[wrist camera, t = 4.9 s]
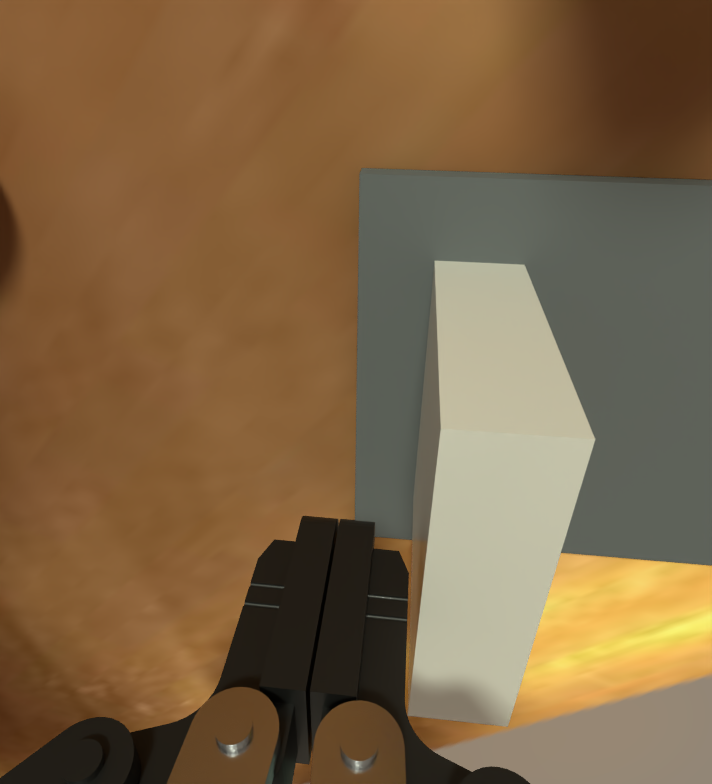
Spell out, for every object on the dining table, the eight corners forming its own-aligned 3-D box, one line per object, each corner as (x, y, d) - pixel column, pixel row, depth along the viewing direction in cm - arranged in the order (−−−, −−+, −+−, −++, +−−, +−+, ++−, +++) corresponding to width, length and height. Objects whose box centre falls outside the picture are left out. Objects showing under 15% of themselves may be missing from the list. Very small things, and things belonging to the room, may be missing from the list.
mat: (356, 522, 20) (354, 534, 20) (362, 168, 14) (359, 173, 13) (769, 556, 19) (778, 571, 19) (991, 189, 13) (1014, 196, 12)
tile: (413, 497, 19) (407, 715, 13) (434, 260, 14) (440, 428, 8) (484, 502, 18) (512, 727, 13) (528, 264, 14) (602, 439, 8)
